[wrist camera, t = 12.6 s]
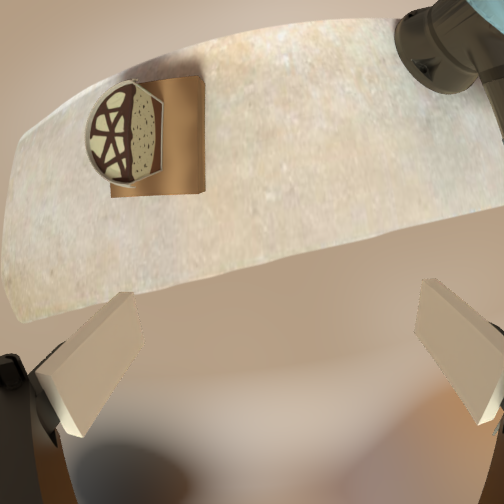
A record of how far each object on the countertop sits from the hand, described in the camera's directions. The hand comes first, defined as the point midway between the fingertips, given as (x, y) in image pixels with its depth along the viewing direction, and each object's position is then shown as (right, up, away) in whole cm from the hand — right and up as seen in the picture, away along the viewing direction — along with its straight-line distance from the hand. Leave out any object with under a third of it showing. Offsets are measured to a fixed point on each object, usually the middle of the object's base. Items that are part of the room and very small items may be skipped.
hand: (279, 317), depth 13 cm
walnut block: (-14, +19, +29) cm, 38 cm away
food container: (-16, +18, +25) cm, 34 cm away
